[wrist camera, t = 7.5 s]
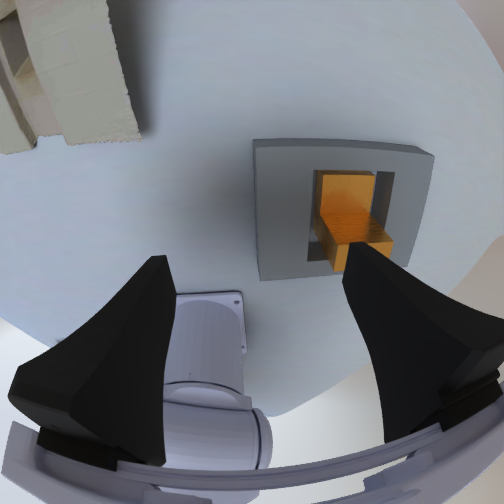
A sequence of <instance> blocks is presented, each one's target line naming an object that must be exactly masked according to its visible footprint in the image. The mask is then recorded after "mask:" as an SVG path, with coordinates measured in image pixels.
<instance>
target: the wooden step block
mask: <svg viewBox="0 0 504 504" xmlns="http://www.w3.org/2000/svg"><path fill="white" fill-rule="evenodd" d="M374 181H375V175H374V174H372V173H371V172H370V171H364V170H317V179H316V195H315V209H314V221H313V230H314V232H315V234H316V236H317V238H318V240H319V242H320V244H321V246H322V248H323V250H324V252H325V254H326V256H327V259H328V261H329V263H330V265H331V267H332V269H333V271H334V272H336V271H344V270H345V265H346V259H347V254H348V249H349V243H350V242H362V241H363V242H365V243H367V244H368V245H370V246H371V247H373V248H374V249H376V250H377V251H379V252H380V253H382V254H383V255H384V256H386V257H387V258H390V254H391V251H392V247H393V243H394V241H393V240H392V239H391V237H390V236H389V235H388V234H387V233H386V232H385V230H384V229H383V228H382V227H381V226H380V224H379V223H378V222H377V221H376V220H375V219H374V218H373V216H372V215H371V214H370V207H371V201H372V194H373V188H374Z"/></svg>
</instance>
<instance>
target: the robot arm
mask: <svg viewBox="0 0 504 504" xmlns="http://www.w3.org/2000/svg"><path fill="white" fill-rule="evenodd" d="M342 284H343V287H344V291H345V294H346V297H347V300H348V303H349V306H350V308H351V310H352V313H353V315H354V317H355V320H356V322H357V324H358V326H359V329H360V331H361V333H362V336H363V338H364V340H365V343H366V345H367V348H368V351H369V354H370V357H371V361H372V364H373V368H374V372H375V376H376V381H377V385H378V390H379V395H380V402H381V408H382V417H383V428H384V442H385V444H384V445H380V446H377V447H374V448H371V449H367V450H364V451H360V452H357V453H353V454H349V455H345V456H341V457H337V458H332V459H328V460H323V461H318V462H312V463H307V464H301V465H295V466H286V467H278V468H268V466H269V464H270V461H271V457H272V448H273V440H272V431H271V427H270V424H269V421H268V420H267V418H266V417H265V416H264V414H263V413H262V411H261V410H260V409H258V408H252V400H251V397H250V396H244V385H243V367H242V354H246V353H247V345H246V335H245V324H244V313H243V302H242V294H241V293H239V292H226V293H209V294H190V295H177V293H176V290H175V286H174V283H173V279H172V276H171V272H170V268H169V264H168V261H167V257H166V255H160V256H151V257H150V258H149V259H148V260H147V261H146V262H145V263H144V264H143V265H142V266H141V268H140V269H139V270H138V271H137V272H136V273H135V274H134V275H133V276H132V277H131V279H130V280H129V281H128V282H127V283H126V284H125V285H124V286H123V287H122V288H121V289H120V290H119V291H118V293H117V294H116V295H115V296H114V297H113V298H112V299H111V300H110V301H109V302H108V303H107V304H106V305H105V306H104V307H103V308H102V309H101V310H100V311H98V312H97V313H96V314H95V315H94V316H93V317H92V318H91V319H89V320H88V321H87V322H86V323H85V324H84V325H82V326H81V327H80V328H78V329H77V330H76V331H75V332H73V333H72V334H71V335H69V336H68V337H67V338H65V339H64V340H63V341H61V342H60V343H58V344H57V345H55V346H54V347H52V348H51V349H49V350H47V351H46V352H44V353H43V354H41V355H39V356H37V357H35V358H34V359H32V360H30V361H28V362H26V363H24V364H22V365H20V366H19V367H18V369H17V371H16V374H15V376H14V379H13V381H12V384H11V387H10V390H9V393H8V399H9V401H10V402H11V403H12V405H13V406H14V407H16V408H17V409H18V410H19V411H20V412H22V413H23V414H24V415H25V416H27V417H28V418H30V419H31V420H32V421H34V422H35V423H36V424H38V425H39V426H41V427H40V431H39V432H37V431H35V430H33V429H31V428H28V427H26V426H24V425H22V424H19V423H18V422H15V421H13V422H12V425H11V429H10V433H9V436H8V441H7V445H6V450H5V455H4V460H3V466H2V472H1V473H2V475H3V476H4V477H5V478H7V479H8V480H10V481H12V482H13V483H14V484H16V485H18V486H19V487H21V488H22V489H24V490H25V491H27V492H29V493H30V494H32V495H33V496H35V497H36V498H38V499H39V500H41V501H43V502H44V503H46V504H247V503H248V502H250V501H252V500H253V499H255V498H256V497H257V496H258V495H259V490H266V489H276V488H285V487H293V486H300V485H305V484H311V483H317V482H322V481H326V480H331V479H335V478H340V477H344V476H348V475H351V474H354V473H358V472H362V471H365V470H368V469H372V468H375V467H378V466H381V465H384V464H386V463H389V462H392V461H394V460H397V459H400V458H402V457H405V456H407V455H408V456H407V458H406V460H405V461H403V462H401V463H399V464H397V465H394V466H392V467H389V468H387V469H384V470H383V471H381V472H379V473H377V474H374V475H372V476H369V477H367V478H365V479H364V480H363V482H364V486H365V490H364V491H363V492H360V493H356V494H352V495H349V496H345V497H341V498H337V499H333V500H329V501H323V502H318V503H313V504H444V503H445V502H447V501H448V500H449V499H451V498H452V497H454V496H455V495H456V494H458V493H459V492H460V491H461V490H463V489H464V488H465V487H466V486H468V485H469V484H470V483H471V482H473V481H474V480H475V479H476V478H477V477H479V476H480V475H481V474H482V473H483V472H484V471H485V470H486V469H487V468H489V466H491V465H492V464H493V463H494V462H495V461H496V460H497V459H498V458H499V457H500V456H501V455H502V454H503V453H504V381H503V382H501V383H500V384H499V383H498V381H497V379H498V378H499V377H500V373H499V371H498V369H497V368H498V367H499V366H500V365H501V364H502V363H503V362H504V319H502V318H498V317H495V316H492V315H488V314H486V313H483V312H480V311H478V310H475V309H473V308H470V307H468V306H466V305H464V304H462V303H459V302H457V301H455V300H453V299H451V298H449V297H447V296H446V295H444V294H442V293H440V292H438V291H437V290H435V289H433V288H431V287H430V286H428V285H426V284H425V283H423V282H422V281H420V280H419V279H417V278H416V277H414V276H413V275H411V274H410V273H408V272H407V271H405V270H404V269H403V268H401V267H400V266H398V265H397V264H396V263H394V262H393V261H391V260H390V259H389V258H387V257H386V256H384V255H383V254H382V253H380V252H379V251H377V250H376V249H374V248H373V247H371V246H370V245H368V244H367V243H365V242H363V241H362V242H350V243H349V249H348V254H347V259H346V265H345V270H344V274H343V279H342ZM236 300H238V301H236ZM267 468H268V469H267Z"/></svg>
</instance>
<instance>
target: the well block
mask: <svg viewBox="0 0 504 504" xmlns="http://www.w3.org/2000/svg"><path fill="white" fill-rule="evenodd" d="M434 157H435V156H434V155H432V154H430V153H428V152H426V151H424V150H422V149H420V148H418V147H415V146H407V145H399V144H391V143H381V142H370V141H357V140H339V139H254V140H253V159H254V185H255V211H256V239H257V263H258V270H259V278H260V281H269V280H281V279H293V278H305V277H316V276H327V275H337V274H344V271H336V272H334V271H333V269H332V267H331V265H330V263H329V261H328V259H327V256H326V254H325V252H324V250H323V248H322V246H321V244H320V242H314V243H309V232H310V220H311V205H312V189H313V170H364V171H378V172H377V180H376V187H375V193H374V199H373V205H372V211H371V215H372V216H373V218H374V219H375V220H376V221H377V222H378V223H379V224H380V226H381V227H382V228H383V229H384V230H385V232H386V233H387V234H388V235H389V236H390V237H391V239H392V240H393V241H394V243H393V247H392V251H391V254H390V258H389V259H390V260H391V261H393V262H394V263H396V264H397V265H398V266H400V267H407V266H408V263H409V260H410V256H411V253H412V250H413V247H414V244H415V240H416V237H417V234H418V230H419V226H420V223H421V219H422V215H423V211H424V207H425V203H426V199H427V194H428V190H429V185H430V180H431V175H432V169H433V163H434Z"/></svg>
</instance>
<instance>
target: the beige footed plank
mask: <svg viewBox="0 0 504 504" xmlns="http://www.w3.org/2000/svg"><path fill="white" fill-rule="evenodd" d="M108 11H109V8H108V6H107V3H106V0H0V153H3V154H9V153H10V154H11V153H15V152H16V153H19V151H21V152H22V151H24V150H26V151H27V150H31V149H33V148H34V144H35V143H36V141H37V138H38V136H44V137H46V136H50V135H51V136H52V135H58V134H63V136H64V139H65V141H66V143H67V145H72V146H73V145H76V144H83V143H85V144H86V143H97V142H99V143H101V141H103V142H109V141H110V142H111V143H113V141H114V142H117V141H119V142H123V141H126V142H129V141H135V140H137V141H138V142H140V141H142V139H141V138H142V136H141V134H140V133H138V132H137V131H139V129H138V125H137V121H136V120H135V119H136V118H134V117H135V115H134V112H133V111H132V109H131V107H132V106H130V103H131V101H130V98H129V97H130V96H129V95H127V93H128V90H127V88H126V85H124V84H125V79H124V78H123V76H124V74H123V73H121V72H122V66H120V64H121V63H120V62H119V59H118V57H119V56H118V51H117V50H116V44H115V39H114V34H113V33H112V29H111V27H112V25H111V24H110V23H109V20H110V18H109V17H108V15H109V14H108Z"/></svg>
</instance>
